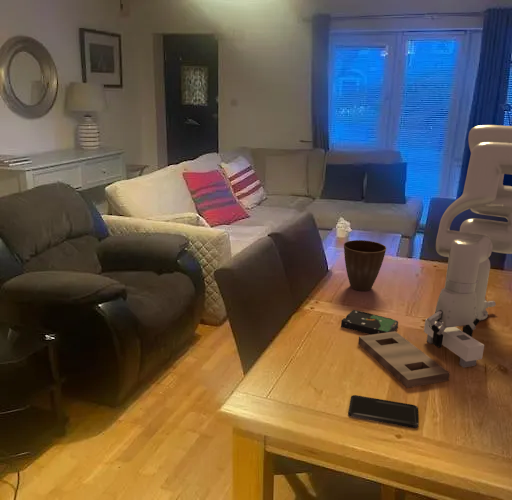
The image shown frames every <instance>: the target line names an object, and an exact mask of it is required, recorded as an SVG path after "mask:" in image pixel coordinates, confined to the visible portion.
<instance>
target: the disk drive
mask: <svg viewBox="0 0 512 500" xmlns="http://www.w3.org/2000/svg"><path fill="white" fill-rule="evenodd" d="M398 327H399V321H398V320H396V319H393V318H390V317H385V316H381V315H379V314H378V315H377V314H373V313H369V312H364V311H361V310H358V309H357V310H356V309H352V310H351V311H350V312H349V313H348V314H346V316H345V317H344V318H343V319H341V321H340V328H344V329H347V330H351V331H356V332H358V333H362V334H367V335H373V334H380V333H387V332H394V331H396V330H397V329H398Z"/></svg>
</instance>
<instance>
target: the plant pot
mask: <svg viewBox="0 0 512 500" xmlns="http://www.w3.org/2000/svg"><path fill="white" fill-rule="evenodd" d="M386 251H387V247H386V245H384V244H382V243H380V242H377V241H376V242H375V241H372V240H363V239H362V240H361V239H356V240H354V239H353V240H349V241H345V242H344V243H343V254H344V263H345V269H346V275H347V278H348V282H349V285H350V288H351V289H353V290H355V291H359V292H366V291H367V292H368V291H370V290H371V289H372V288H373V286H374V284H375V283H376V279H377V277H378V275H379V272H380V270H381V267H382V264H383V261H384V259H385V255H386Z"/></svg>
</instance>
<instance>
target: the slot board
mask: <svg viewBox="0 0 512 500" xmlns="http://www.w3.org/2000/svg"><path fill="white" fill-rule="evenodd" d="M358 345H360V347H362V348H363V349H364V350H365V351H366V352H367V353H368V354H370V356H372V357H373V358H374V359H375V361H377V362H378V363H379V364H380V365H381V366H383V367H384V368H385V369H386V370H387V371H388V372H389V373H390V374H392V376H393V377H395V378H396V379H397V380H398V381H399V382H400V383H401V384H402V385H404V386H405V387H406V389H407V388H409V389H410V388H414V387H421V386H425V385H431V384H437V383H443V382H448V381H449V379H450V372H449V370H447V369H446V368H444V367H443V366H442V365H440V364H439V363H438V362H437V361H435V360H434V359H432V358H431V357H430V356H429V355H427V354H426V353H425V352H424V351H422V350H421V349H419V348H418V347H417V346H416V345H414V344H413V343H412V342H410V341H409V340H407V339H406V338H405V337H404V336H403V335H401V334H400V333H399V332H397V331H396V330H395V331H394V332H387V333H380V334H373V335H370V334H367V335H359V336H358Z"/></svg>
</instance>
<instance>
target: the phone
mask: <svg viewBox="0 0 512 500" xmlns="http://www.w3.org/2000/svg"><path fill="white" fill-rule="evenodd" d="M347 410H348V411H347V413H348V417H350V418H355V419H361V420H367V421H370V422H371V421H372V422H378V423H383V424H387V425H388V424H389V425H395V426H400V427H406V428H411V429H417V428H418V427H419V423H420V422H419V419H420V418H419V416H420V415H419V407H418V406H417V405H415V404H411V403H405V402H398V401H393V400H392V401H391V400H387V399H381V398H375V397H369V396H361V395H356V394H354V395H351V397H350V400H349V405H348V409H347Z"/></svg>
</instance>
